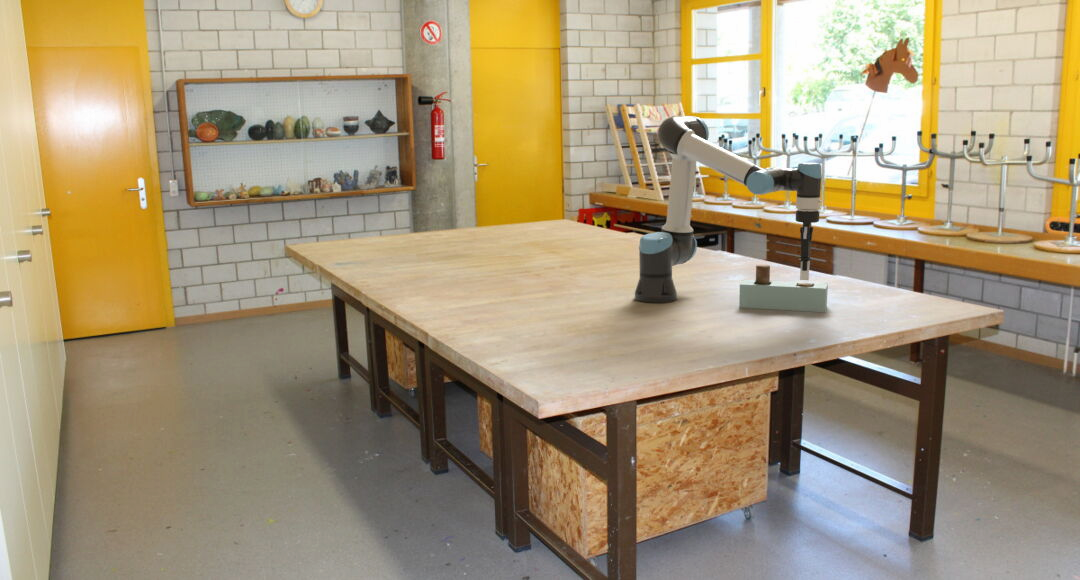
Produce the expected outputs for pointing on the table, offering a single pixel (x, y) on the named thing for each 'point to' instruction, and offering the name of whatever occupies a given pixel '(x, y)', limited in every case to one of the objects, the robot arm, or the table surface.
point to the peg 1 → (763, 274)
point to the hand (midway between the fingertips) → (804, 279)
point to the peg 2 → (805, 284)
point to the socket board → (783, 296)
